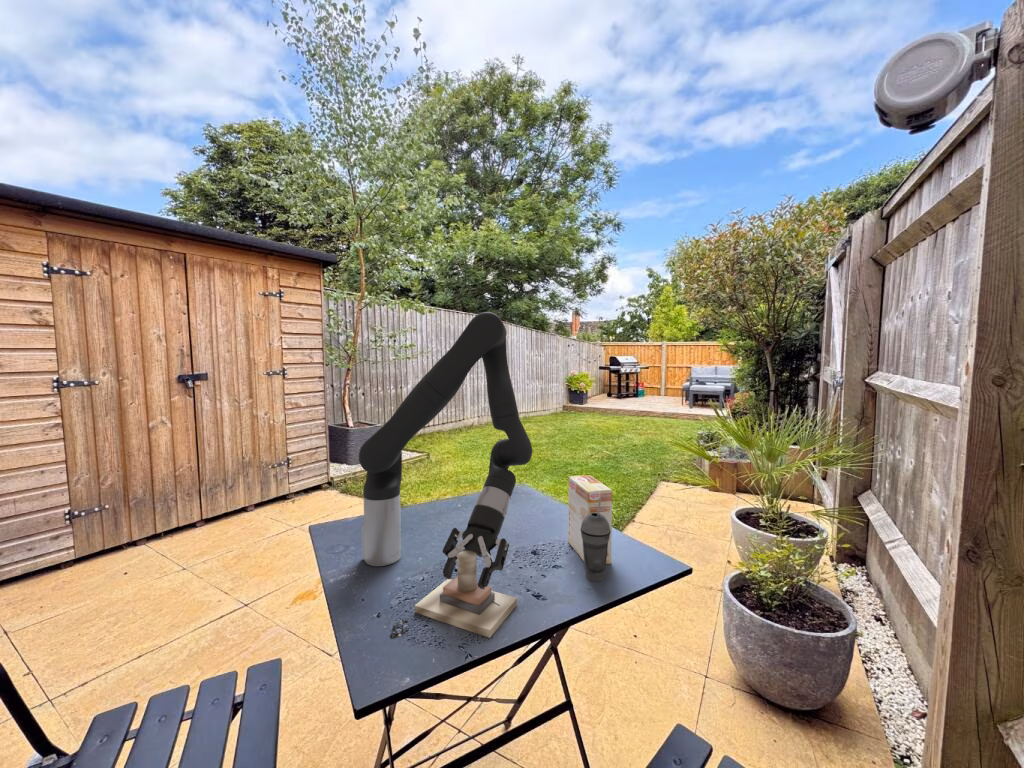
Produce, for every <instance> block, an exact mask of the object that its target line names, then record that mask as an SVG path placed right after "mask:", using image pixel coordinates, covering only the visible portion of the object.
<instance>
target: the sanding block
mask: <svg viewBox="0 0 1024 768" xmlns="http://www.w3.org/2000/svg"><path fill="white" fill-rule="evenodd" d="M477 557H478V556H477V555H476V553H475V552H473V551H462V552H460V553H459V554H458V560H457V576H455V577H454V578H453V579H452V581H450V582H449V583H448V584H446V585H445V586H444V587H443V592H442V593H441V594H440V602H443V603H446V604H449V605H452V606H455V607H458V608H460V609H463V610H466V611H469V612H472V613H475V614H478V615H480V614H481V613H482V612H483V611H484V610H485V609H486V608H487V607H488V606H489V605H490V604H491V603H492V602H493V601H494V600H495V593H493V592H491V591H492V586H489V585H488V586H487V587H485V588H484V589H480V588H479V587H478V580H477V579H478V577H477V575H478V574H477V570H478V569H477V560H478V559H477Z"/></svg>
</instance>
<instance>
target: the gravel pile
mask: <svg viewBox="0 0 1024 768" xmlns="http://www.w3.org/2000/svg"><path fill="white" fill-rule="evenodd" d="M389 625H390V623H389ZM409 626H410V624H409V621H408V619H406V618H402V619H401V620H398V621H397V623H396V624H393V625H392V632H391V634H390V635H389V638H390V639H396V638H398V637H401V636H403V635H405V634H408V632H409V630H410V627H409ZM386 627H387V626H386V625H385V626H383V628H386Z"/></svg>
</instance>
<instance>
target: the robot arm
mask: <svg viewBox="0 0 1024 768" xmlns="http://www.w3.org/2000/svg"><path fill="white" fill-rule="evenodd" d="M507 355H508V354H507V328H506V326H505V324H504V322H503V320H502V319H501V317H500V316H498V315H497V314H496V313H494V312H490V311H485V312H480V313H478V314H476V315H475V316H474V317H472V319H471V320H470V321H469V323H468V324H467V325H466V327H465V329H464V330H463V331H462V333H461V334H460V335H459V337H458V338H457V339H456V341H455V342H454V343H453V345H452V346H451V348H449V349H448V351H447V352H445V354H444V355H443V356H442V357H440V358H439V360H438V361H437V362H436V363H435V364H434V365H433V366H431V369H429V370H428V372H427V373H426V374H424V376H422V378H421V379H420V380H419V381H418V382H417V383H416V385H415V386H414V387H413V389H412V390H410V392H409V393H408V395H407V396H406V397H405V398H404V400H403V401H402V402H401V404H400V405H398V407H397V409H396V411H395V412H394V413H393V415H391V417H390V418H388V420H387V421H386V422H385V424H384V425H382V426H381V427H380V428H379V429H378V430H377V431H376V432H375V433H374V434H372V436H370V437H369V438H368V439H366V441H364V442H363V444H362V445H361V447H360V449H359V452H358V462H359V465H360V467H361V468H362V469H363V470H365V471H366V479H365V482H364V484H363V488H362V489H363V492H362V493H363V523H362V524H361V525H360V526H361V530H360V531H361V560H363V561H364V562H365V564H367V565H368V566H372V567H385V566H388V565H392V564H394V563H396V562H398V561H400V559H401V557H402V534H401V533H402V530H401V527H402V526H401V523H402V522H401V521H402V520H401V483H402V479H403V478H402V476H403V470H402V469H403V454H402V453H403V452H402V451H403V450H404V449H405V447H406V445H407V444H408V443H409V442H410V440H411V439H412V438H413V437H414V436H415V435H416V434H417V433H419V432H420V431H421V430H423V428H425V427H426V426H427V425H428V424H429V423H430V422H431V421H432V420H433V419H435V418H436V417H437V416H438V415H439V413H440V412H442V410H443V409H444V408H445V407H446V406H447V405H448V404H449V402H451V400H453V398H454V397H455V396H456V394H457V393H458V392H459V390H460V388H461V387H462V385H463V384H464V381H465V379H466V378H467V376H468V374H469V373H470V371H471V370H472V368H473V367H474V366H475V365H476V363H477V362H479V360H482V362H483V366H484V371H485V372H484V373H485V378H486V379H485V380H486V391H487V402H488V406H489V413H490V417H491V422H492V423H491V424H492V425H493V428H494V429H495V430H496V431H502V432H504V433H505V435H506V436H507V438H503V439H502V438H501V439H499V440H498V441H496V442H495V444H494V445H493V447H492V448H491V451H490V458H489V465H488V466H489V467H488V474H487V476H486V479H485V481H484V484H483V487H482V489H481V491H480V493H479V494H478V496H477V499H476V501H475V504H474V507H473V510H472V511H471V515H470V517H469V518H468V522H467V527H466V528H465V530H464V531H462V530H459V529H458V528H456V527H454V528H452V530H451V532H450V534H449V535H448V538H447V540H446V542H445V544H444V546H443V549H442V554H444V555H445V557H447V560H446V562H445V565H444V568H443V569H442V575H443V577H444V578H445V579H446V580H447V579H452V575H453V573H454V571H455V567H456V565H457V562H458V554H459V553H460V552H462V551H473V552H475V553H476V557H479V558H483V561H484V564H485V565H484V566H485V567H483V568H482V572H481V574H480V577H479V579H478V581H477V583H478V587H479V588H480V589H484V588H485V587H487V586H489V584H490V580H491V577H492V574H493V572H494V571H502V570H504V566H505V563H506V559H507V555H508V552H509V547H510V543H509V542H508V541H507V539H506V538H503V537H502V538H501V539H500V538H499V539H498V537H499V535H500V532H501V530H502V527H503V523H504V521H505V518H506V515H507V513H508V510H509V505H510V501H511V498H512V496H513V492H514V489H515V487H516V486H515V485H516V483H517V477H516V475H515V473H513V472H512V471H511V470H509V467H513V466H514V467H516V466H523V465H527V464H528V463H529V462H530V461H531V459H532V457H533V446H532V442H531V440H530V438H529V435H528V434H527V431H526V430H525V426H524V425H523V424H522V421H521V419H520V416H519V411H518V406H517V401H516V397H515V392H514V388H513V383H512V380H511V376H510V369H509V364H508V356H507ZM461 539H462V541H461ZM459 541H460V542H459ZM494 548H496V549H497V552H496V555H495V559H494V558H493V554H492V552H491V551H492V550H493V549H494Z"/></svg>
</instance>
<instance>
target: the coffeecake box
mask: <svg viewBox="0 0 1024 768" xmlns="http://www.w3.org/2000/svg"><path fill="white" fill-rule="evenodd" d="M599 497H601V505H600V513H599V514H601V515H603V516H604V517H605V518H606V519H607V521H608V522H609V525H610V531H611V533H610V537H609V541H608V549H607V558H606V565H608V564H612V534H613V531H612V528H613V490H612V489H611V488H610V487H608V486H607V485H605V484H604V483H602V482H601V481H599V480H598V479H597V478H595V477H593V476H592V475H591V474H589V475H588V474H585V475H583V474H582V475H568V508H567V509H568V510H567V511H568V515H567V517H568V519H567V521H568V522H567V524H568V525H567V526H568V527H567V529H568V530H567V531H568V532H567V536H568V537H567V542H568V543H569V544H570V545H571V547H572V548H573V549H574V551H575V552H576V554H577V555H578V556H579V557H580V558H581V560H582V561H583V562H584V553H583V539H582V536H581V531H580V529H581V524H582V521H583V519H584V518H585V517H586V516H587V515H589V514H591V513H597V512H598V504H599Z"/></svg>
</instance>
